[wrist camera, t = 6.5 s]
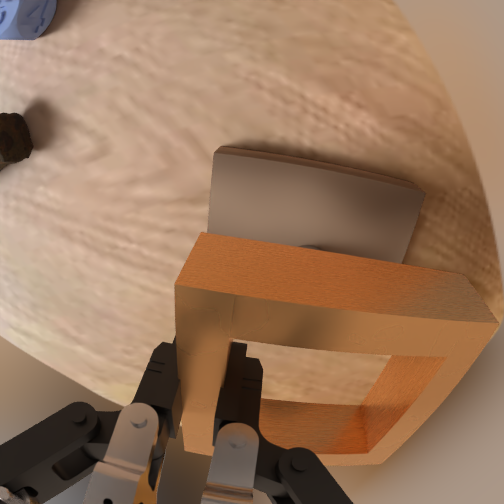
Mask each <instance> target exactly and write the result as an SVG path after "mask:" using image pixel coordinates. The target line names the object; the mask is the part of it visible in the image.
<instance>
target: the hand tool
mask: <svg viewBox="0 0 504 504" xmlns="http://www.w3.org/2000/svg"><path fill="white" fill-rule="evenodd" d="M32 149H33V144H32V141H31V138H30V133H29V130H28V127H27V125H26V123H25V121H24V119H23V117H22V116H21V115H19V114H18V113H11V114H8V113H1V114H0V170H2V169H3V167H4V166H5V165H7V164H8V163H17V162H19V161H22V160H23V159H25V158H29V156H30V154H31V151H32Z"/></svg>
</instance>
